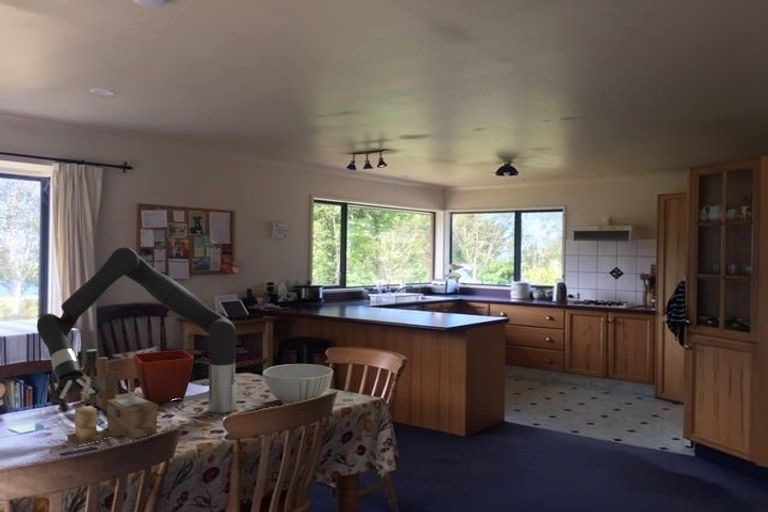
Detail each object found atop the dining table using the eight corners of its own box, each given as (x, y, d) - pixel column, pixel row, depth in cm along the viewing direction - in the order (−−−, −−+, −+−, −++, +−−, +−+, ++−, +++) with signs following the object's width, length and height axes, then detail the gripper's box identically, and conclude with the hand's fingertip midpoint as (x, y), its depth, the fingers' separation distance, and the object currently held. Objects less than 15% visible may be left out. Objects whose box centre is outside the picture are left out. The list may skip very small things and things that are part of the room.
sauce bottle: (86, 399, 236) (86, 348, 236) (103, 399, 237) (103, 348, 236) (79, 404, 230) (79, 351, 229) (97, 403, 230) (97, 351, 230)
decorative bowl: (322, 414, 221) (322, 380, 220) (251, 409, 225) (251, 377, 225) (339, 395, 247) (340, 365, 247) (276, 391, 251) (276, 362, 251)
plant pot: (141, 407, 226) (141, 362, 225) (133, 396, 242) (133, 353, 242) (194, 401, 236) (194, 357, 235) (182, 390, 252) (183, 349, 251)
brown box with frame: (134, 421, 209) (134, 394, 209) (158, 432, 198) (158, 403, 197) (62, 437, 192) (61, 407, 191) (83, 450, 180) (83, 418, 180)
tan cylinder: (90, 437, 192) (90, 405, 192) (96, 440, 189) (96, 408, 189) (75, 441, 189) (74, 408, 189) (81, 444, 186) (80, 411, 185)
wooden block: (105, 412, 220) (105, 362, 219) (95, 405, 228) (95, 357, 227) (115, 410, 222) (115, 360, 222) (105, 403, 230) (105, 356, 230)
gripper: (45, 362, 192) (59, 406, 184) (92, 356, 202) (107, 397, 195) (39, 376, 196) (52, 419, 188) (85, 369, 206) (100, 410, 199)
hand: (80, 408), depth 192 cm, fingers open, 8 cm apart
